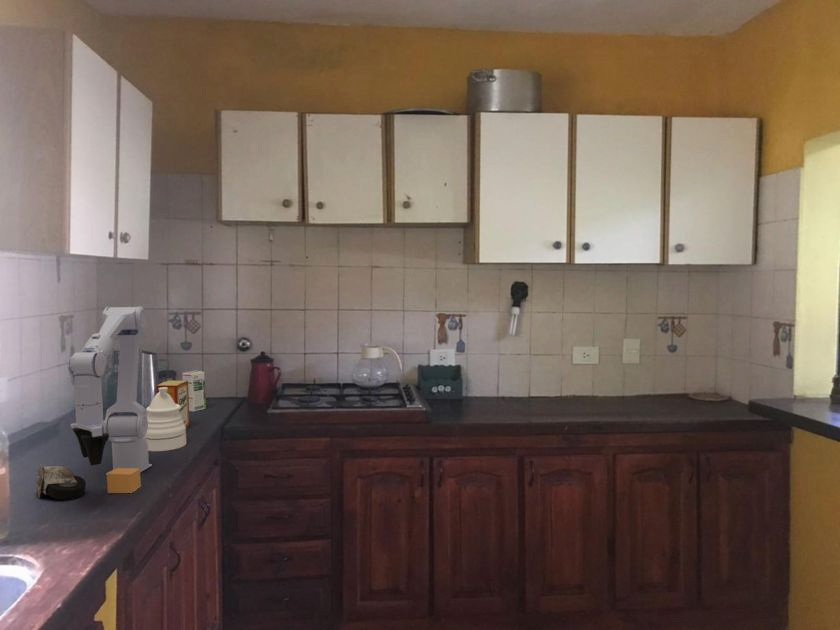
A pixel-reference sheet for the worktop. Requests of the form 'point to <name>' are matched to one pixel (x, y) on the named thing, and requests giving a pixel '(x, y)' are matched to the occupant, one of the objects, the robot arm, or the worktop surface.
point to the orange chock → (123, 480)
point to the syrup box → (196, 390)
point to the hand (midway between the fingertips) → (91, 460)
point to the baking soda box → (179, 396)
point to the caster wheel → (59, 482)
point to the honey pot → (164, 423)
